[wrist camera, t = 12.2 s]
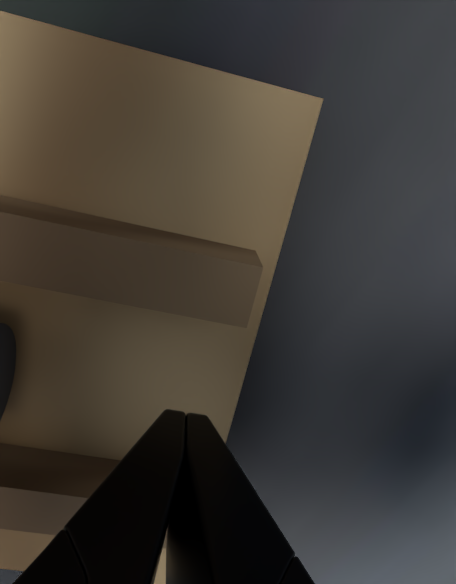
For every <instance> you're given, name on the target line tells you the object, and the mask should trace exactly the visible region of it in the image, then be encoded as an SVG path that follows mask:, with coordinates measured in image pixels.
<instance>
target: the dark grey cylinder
mask: <svg viewBox="0 0 456 584" xmlns="http://www.w3.org/2000/svg"><path fill="white" fill-rule="evenodd" d="M15 363H16V341H15V336H14V333H13V331H12V329H11V328H10V327H9V326H8V325H7V324H4V323H0V421H1V418H2V416H3V413H4V410H5V408H6V405H7V402H8V398H9V395H10V392H11V388H12V383H13V379H14V373H15Z"/></svg>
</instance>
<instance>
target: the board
mask: <svg viewBox="0 0 456 584" xmlns="http://www.w3.org/2000/svg"><path fill="white" fill-rule="evenodd" d="M322 102H323V99H322V98H319V97H315V96H311V95H308V94H304V93H300V92H297V91H293V90H289V89H286V88H282V87H278V86H275V85H271V84H267V83H264V82H260V81H256V80H253V79H249V78H245V77H242V76H238V75H234V74H231V73H227V72H223V71H219V70H216V69H212V68H208V67H205V66H201V65H197V64H194V63H190V62H186V61H183V60H179V59H175V58H172V57H168V56H164V55H161V54H157V53H153V52H150V51H146V50H142V49H139V48H135V47H131V46H128V45H124V44H120V43H117V42H113V41H109V40H106V39H102V38H98V37H95V36H91V35H87V34H84V33H80V32H76V31H73V30H69V29H65V28H62V27H58V26H54V25H51V24H47V23H43V22H40V21H36V20H32V19H29V18H25V17H21V16H18V15H14V14H10V13H7V12H3V11H0V323H4V324H7V325H8V326H9V327H10V328H11V329H12V331H13V333H14V336H15V341H16V363H15V373H14V379H13V383H12V388H11V392H10V395H9V398H8V402H7V405H6V408H5V410H4V413H3V416H2V418H1V421H0V569H9V570H18V571H25V570H26V569H27V568H28V566H29V565H30V564H31V563H32V562H33V561H34V560H35V559H36V558H37V557H38V556H39V554H40V553H41V552H42V551H43V550H44V549H45V548H46V547H47V545H48V544H49V543H50V542H51V541H52V540H53V538H54V537H55V536H56V535H57V534H58V533H59V531H61V530H64V526H65V525H66V524H67V522H68V521H69V520H70V519H71V518H72V517H73V515H74V514H75V513H76V512H77V511H78V510H79V509H80V507H81V506H82V505H83V504H84V503H85V502H86V500H87V499H88V498H89V497H90V496H91V495H92V493H93V492H94V491H95V490H96V489H97V488H98V486H99V485H100V484H101V483H102V482H103V481H104V479H105V478H106V477H107V476H108V475H109V474H110V472H111V471H112V470H113V469H114V468H115V467H116V465H117V464H118V463H119V462H120V461H121V460H122V458H123V457H124V456H125V455H126V454H127V453H128V451H129V450H130V449H131V448H132V447H133V446H134V444H135V443H136V442H137V441H138V440H139V439H140V438H141V436H142V435H143V434H144V433H145V432H146V431H147V429H148V428H149V427H150V426H151V425H152V424H153V422H154V421H155V420H156V419H157V418H158V417H159V415H160V414H161V413H162V412H163V411H164V410H165V409H171V410H178V411H183V412H184V413H185V414H187V413H197V414H203V415H207V416H208V417H209V419H210V420H211V422H212V424H213V425H214V427H215V428H216V430H217V431H218V433H219V435H220V436H221V438H222V439H223V441H224V442H225V444H226V441H227V437H228V433H229V430H230V426H231V423H232V419H233V416H234V412H235V409H236V405H237V402H238V398H239V395H240V391H241V388H242V384H243V381H244V377H245V374H246V370H247V367H248V363H249V360H250V356H251V352H252V349H253V345H254V342H255V338H256V335H257V331H258V328H259V324H260V321H261V317H262V314H263V310H264V307H265V303H266V300H267V296H268V293H269V289H270V286H271V282H272V279H273V275H274V271H275V268H276V264H277V261H278V257H279V254H280V250H281V247H282V243H283V240H284V236H285V233H286V229H287V226H288V222H289V219H290V215H291V212H292V208H293V205H294V201H295V198H296V194H297V190H298V187H299V183H300V180H301V176H302V173H303V169H304V166H305V162H306V159H307V155H308V152H309V148H310V145H311V141H312V138H313V134H314V131H315V127H316V124H317V120H318V117H319V113H320V109H321V106H322ZM166 540H167V532H166V536H165V540H164V545H163V549H162V553H161V557H160V561H159V565H158V569H157V573H156V577H155V581H154V584H166Z"/></svg>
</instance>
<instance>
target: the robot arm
mask: <svg viewBox="0 0 456 584" xmlns="http://www.w3.org/2000/svg"><path fill="white" fill-rule="evenodd" d="M166 532H167V540H166V584H315V583H314V582H313V580H312V579H311V577H310V575H309V574H308V572H307V571H306V569H305V568H304V566H303V564H302V563H301V561H300V560H299V558H298V557H294V556H295V552H294V551H293V549H292V548H291V546H290V544H289V543H288V541H287V540H286V538H285V537H284V535H283V533H282V532H281V530H280V529H279V527H278V526H277V524H276V522H275V521H274V519H273V518H272V516H271V515H270V513H269V511H268V510H267V508H266V507H265V505H264V504H263V502H262V500H261V499H260V497H259V496H258V494H257V493H256V491H255V489H254V488H253V486H252V485H251V483H250V482H249V480H248V479H247V477H246V475H245V474H244V472H243V471H242V469H241V468H240V466H239V464H238V463H237V461H236V460H235V458H234V457H233V455H232V453H231V452H230V450H229V449H228V447H227V446H226V444H225V442H224V441H223V439H222V438H221V436H220V435H219V433H218V431H217V430H216V428H215V427H214V425H213V424H212V422H211V420H210V419H209V417H208V416H207V415H203V414H197V413H187V414H185V413H184V412H183V411H178V410H171V409H165V410H164V411H163V412H162V413H161V414H160V415H159V417H158V418H157V419H156V420H155V421H154V422H153V424H152V425H151V426H150V427H149V428H148V429H147V431H146V432H145V433H144V434H143V435H142V436H141V438H140V439H139V440H138V441H137V442H136V443H135V444H134V446H133V447H132V448H131V449H130V450H129V451H128V453H127V454H126V455H125V456H124V457H123V458H122V460H121V461H120V462H119V463H118V464H117V465H116V467H115V468H114V469H113V470H112V471H111V472H110V474H109V475H108V476H107V477H106V478H105V479H104V481H103V482H102V483H101V484H100V485H99V486H98V488H97V489H96V490H95V491H94V492H93V493H92V495H91V496H90V497H89V498H88V499H87V500H86V502H85V503H84V504H83V505H82V506H81V507H80V509H79V510H78V511H77V512H76V513H75V514H74V515H73V517H72V518H71V519H70V520H69V521H68V522H67V524H66V525H65V526H64V530H61V531H59V533H58V534H57V535H56V536H55V537H54V538H53V540H52V541H51V542H50V543H49V544H48V545H47V547H46V548H45V549H44V550H43V551H42V552H41V553H40V554H39V556H38V557H37V558H36V559H35V560H34V561H33V562H32V563H31V564H30V565H29V566H28V568H27V569H26V570H25V571H24V572H23V573H22V574H21V575H20V576H19V577H18V579H17V580H16V581H15V582H14V583H13V584H154V581H155V577H156V573H157V569H158V565H159V561H160V557H161V553H162V549H163V545H164V540H165V536H166Z"/></svg>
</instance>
